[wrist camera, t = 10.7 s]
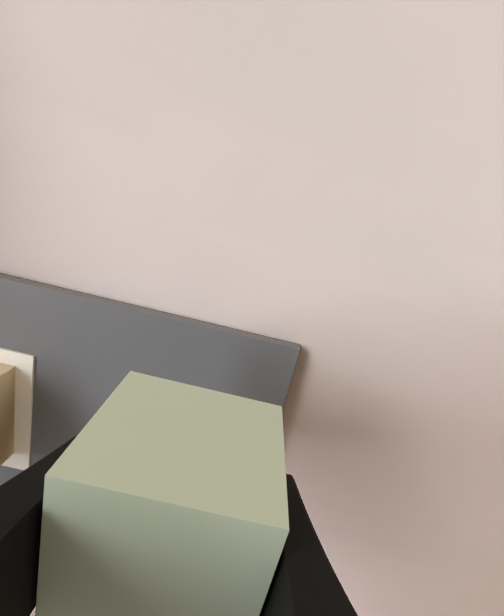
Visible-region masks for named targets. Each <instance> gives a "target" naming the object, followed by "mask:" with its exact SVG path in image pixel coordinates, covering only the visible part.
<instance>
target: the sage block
mask: <svg viewBox="0 0 504 616" xmlns="http://www.w3.org/2000/svg"><path fill="white" fill-rule="evenodd" d="M288 533H289V516H288V499H287V482H286V466H285V449H284V433H283V416H282V406H278V405H274V404H270V403H266V402H261V401H257V400H253V399H249V398H244V397H240V396H236V395H231V394H227V393H223V392H219V391H214V390H210V389H206V388H202V387H197V386H193V385H189V384H185V383H180V382H176V381H172V380H167V379H163V378H159V377H155V376H150V375H146V374H142V373H138V372H133V371H130V372H129V373H128V374H127V376H126V377H125V378H124V379H123V380H122V382H121V383H120V384H119V385H118V387H117V388H116V389H115V390H114V391H113V393H112V394H111V395H110V396H109V397H108V399H107V400H106V401H105V402H104V404H103V405H102V406H101V407H100V408H99V410H98V411H97V412H96V413H95V415H94V416H93V417H92V418H91V419H90V421H89V422H88V423H87V424H86V426H85V427H84V428H83V429H82V430H81V432H80V433H79V434H78V435H77V437H76V438H75V439H74V440H73V441H72V443H71V444H70V445H69V446H68V447H67V449H66V450H65V451H64V452H63V454H62V455H61V456H60V457H59V458H58V460H57V461H56V462H55V463H54V465H53V466H52V467H51V468H50V469H49V471H48V472H47V473H46V474H45V480H44V495H43V510H42V524H41V539H40V554H39V568H38V583H37V598H36V612H35V616H259V615H260V612H261V609H262V606H263V603H264V601H265V598H266V595H267V592H268V589H269V586H270V584H271V581H272V578H273V575H274V572H275V570H276V567H277V564H278V561H279V558H280V555H281V553H282V550H283V547H284V544H285V541H286V538H287V536H288Z"/></svg>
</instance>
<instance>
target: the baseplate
mask: <svg viewBox="0 0 504 616" xmlns="http://www.w3.org/2000/svg"><path fill="white" fill-rule="evenodd" d="M299 353H300V345H299V344H296V343H291V342H287V341H283V340H279V339H275V338H270V337H266V336H262V335H258V334H254V333H249V332H245V331H241V330H237V329H233V328H228V327H224V326H220V325H216V324H212V323H207V322H203V321H199V320H195V319H190V318H186V317H182V316H178V315H174V314H169V313H165V312H161V311H157V310H153V309H148V308H144V307H140V306H136V305H132V304H127V303H123V302H119V301H115V300H111V299H106V298H102V297H98V296H94V295H90V294H85V293H81V292H77V291H73V290H69V289H64V288H60V287H56V286H52V285H48V284H43V283H39V282H35V281H31V280H27V279H22V278H18V277H14V276H10V275H5V274H1V273H0V363H4V364H8V365H13V366H15V411H14V453H13V454H12V455H11V456H10V457H9V458H8V459H7V460H6V461H5V462H4V463H3V464H2V465H1V466H0V485H2V484H4V483H5V482H7V481H8V480H10V479H11V478H13V477H14V476H16V475H18V474H19V473H21V472H22V471H24V470H25V469H27V468H28V467H30V466H31V465H33V464H35V463H36V462H38V461H39V460H41V459H42V458H44V457H45V456H46V455H48V454H49V453H51V452H52V451H54V450H55V449H57V448H58V447H60V446H61V445H63V444H64V443H65V442H67V441H68V440H70V439H71V438H73V437H74V436H76V435H77V434H79V433H80V432H81V430H82V429H83V428H84V427H85V426H86V424H87V423H88V422H89V421H90V419H91V418H92V417H93V416H94V415H95V413H96V412H97V411H98V410H99V408H100V407H101V406H102V405H103V404H104V402H105V401H106V400H107V399H108V397H109V396H110V395H111V394H112V393H113V391H114V390H115V389H116V388H117V387H118V385H119V384H120V383H121V382H122V380H123V379H124V378H125V377H126V376H127V374H128V373H129V372H130V371H133V372H138V373H142V374H146V375H150V376H155V377H159V378H163V379H167V380H172V381H176V382H180V383H185V384H189V385H193V386H197V387H202V388H206V389H210V390H214V391H219V392H223V393H227V394H231V395H236V396H240V397H244V398H249V399H253V400H257V401H261V402H266V403H270V404H274V405H278V406H282V409H283V405H284V402H285V399H286V395H287V392H288V389H289V386H290V382H291V379H292V376H293V372H294V369H295V366H296V362H297V359H298V356H299Z"/></svg>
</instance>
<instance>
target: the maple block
mask: <svg viewBox="0 0 504 616" xmlns="http://www.w3.org/2000/svg"><path fill="white" fill-rule="evenodd" d="M14 411H15V366H13V365H8V364H4V363H0V466H1V465H2V464H3V463H4V462H5V461H6V460H7V459H8V458H9V457H10V456H11V455H12V454H13V453H14Z"/></svg>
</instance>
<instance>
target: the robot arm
mask: <svg viewBox="0 0 504 616" xmlns="http://www.w3.org/2000/svg"><path fill="white" fill-rule="evenodd" d="M77 435H78V434H77ZM77 435H76V436H74V437H73V438H71V439H70V440H68V441H67V442H65V443H64V444H63V445H61V446H60V447H58V448H57V449H55V450H54V451H52V452H51V453H49V454H48V455H46V456H45V457H44V458H42V459H41V460H39V461H38V462H36V463H35V464H33V465H31V466H30V467H28V468H27V469H25V470H24V471H22V472H21V473H19V474H18V475H16V476H14V477H13V478H11V479H10V480H8V481H7V482H5V483H4V484H2V485H0V616H30V614H31V612H32V611H33V609H34V608H35V606H36V598H37V583H38V568H39V554H40V539H41V524H42V510H43V495H44V480H45V474H46V473H47V472H48V471H49V469H50V468H51V467H52V466H53V465H54V463H55V462H56V461H57V460H58V458H59V457H60V456H61V455H62V454H63V452H64V451H65V450H66V449H67V447H68V446H69V445H70V444H71V443H72V441H73V440H74V439H75V438H76V437H77ZM286 482H287V499H288V516H289V533H288V536H287V538H286V541H285V544H284V547H283V550H282V553H281V555H280V558H279V561H278V564H277V567H276V570H275V572H274V575H273V578H272V581H271V584H270V586H269V589H268V592H267V595H266V598H265V601H264V603H263V606H262V609H261V612H260V615H259V616H358V615H357V613H356V612H355V610H354V608H353V606H352V604H351V603H350V601H349V599H348V597H347V595H346V593H345V591H344V590H343V588H342V586H341V584H340V582H339V580H338V578H337V576H336V574H335V572H334V570H333V568H332V566H331V564H330V562H329V560H328V558H327V556H326V554H325V552H324V549H323V547H322V545H321V543H320V541H319V539H318V536H317V534H316V532H315V530H314V528H313V525H312V523H311V521H310V518H309V516H308V513H307V511H306V509H305V506H304V504H303V501H302V499H301V496H300V494H299V491H298V488H297V486H296V483H295V480H294V478H293V477H292V475H289V474H286Z"/></svg>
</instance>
